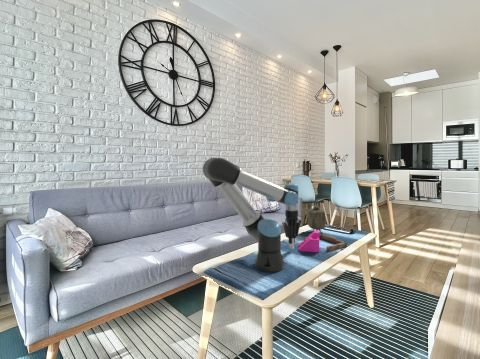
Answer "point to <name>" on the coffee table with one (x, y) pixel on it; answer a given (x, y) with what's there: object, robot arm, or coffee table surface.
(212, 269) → the coffee table surface
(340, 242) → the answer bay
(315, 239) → the bracket
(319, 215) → the brown pump bottle
